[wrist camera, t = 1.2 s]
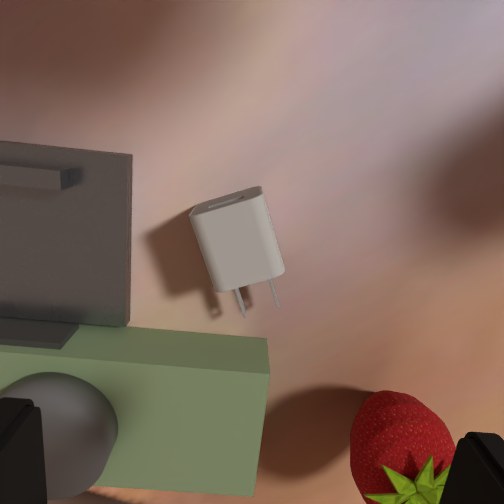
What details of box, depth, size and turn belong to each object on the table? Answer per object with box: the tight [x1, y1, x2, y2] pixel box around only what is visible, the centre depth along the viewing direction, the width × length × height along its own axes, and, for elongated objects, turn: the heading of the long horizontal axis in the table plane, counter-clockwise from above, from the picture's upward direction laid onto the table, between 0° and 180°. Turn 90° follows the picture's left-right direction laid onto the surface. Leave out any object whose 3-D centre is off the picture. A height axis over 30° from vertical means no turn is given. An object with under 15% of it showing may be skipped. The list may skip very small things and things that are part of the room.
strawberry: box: [350, 390, 456, 504], centre depth 23 cm, size 6×8×10 cm
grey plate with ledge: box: [0, 141, 132, 327], centre depth 23 cm, size 10×12×2 cm
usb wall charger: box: [188, 186, 285, 318], centre depth 23 cm, size 4×7×4 cm, turn 17°
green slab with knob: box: [0, 316, 270, 500], centre depth 24 cm, size 9×24×6 cm, turn 84°
